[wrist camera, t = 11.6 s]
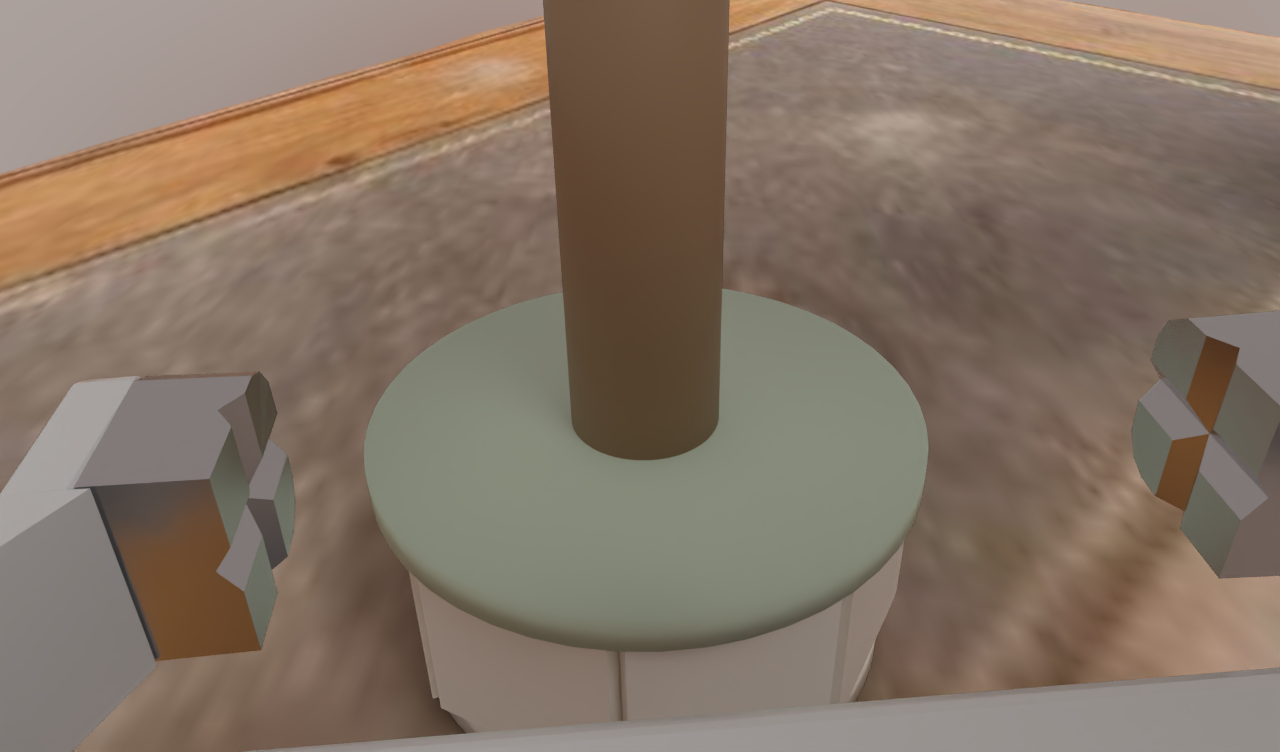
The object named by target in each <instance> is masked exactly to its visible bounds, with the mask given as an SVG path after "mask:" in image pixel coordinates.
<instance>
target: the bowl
mask: <svg viewBox="0 0 1280 752" xmlns="http://www.w3.org/2000/svg"><path fill="white" fill-rule="evenodd" d="M904 540H905V539H904ZM903 546H904V541H903V543H902V544H901V546H900V548H899V549H898V550H897V552H896V553H895V554H894V555H893V556H892V557H891V558H890V560H889V561H888V562H887V563H886V564H885V565H884V566H883V568H882V569H881V570H880V571H879V572H878V573H876V574H875V575H874V576H873V577H872V578H870V579H869V580H868V581H867V582H866V583H864V584H863V585H862V586H861V587H859V588H858V589H857V590H856V591H855V592H853V593H852V594H850V595H848V596H847V597H845V598H843V599H842V600H840V601H838V602H837V603H835V604H834V605H832V606H830V607H829V608H827V609H825V610H824V611H822V612H819V613H817V614H815V615H813V616H810V617H808V618H806V619H804V620H801V621H799V622H797V623H795V624H792V625H790V626H788V627H785V628H782V629H779V630H775V631H772V632H769V633H766V634H763V635H760V636H756V637H753V638H750V639H746V640H741V641H736V642H731V643H726V644H721V645H716V646H711V647H706V648H696V649H686V650H675V651H664V652H615V651H606V650H596V649H587V648H578V647H570V646H566V645H561V644H556V643H552V642H547V641H543V640H538V639H533V638H529V637H526V636H523V635H520V634H517V633H514V632H511V631H508V630H505V629H502V628H499V627H496V626H493V625H491V624H489V623H487V622H485V621H482V620H480V619H478V618H476V617H474V616H472V615H470V614H468V613H466V612H464V611H462V610H460V609H458V608H456V607H455V606H453V605H451V604H450V603H448V602H447V601H445V600H444V599H442V598H441V597H439V596H438V595H436V594H435V593H433V592H432V591H430V590H429V589H428V588H427V587H426V586H424V585H423V584H422V583H421V582H420V581H419V580H418V579H417V578H416V577H414V576H413V575H412V574H411V573H410V572H409V576H410V581H411V587H412V592H413V597H414V602H415V608H416V613H417V618H418V623H419V629H420V634H421V639H422V645H423V650H424V655H425V660H426V666H427V671H428V676H429V681H430V687H431V692H432V697H433V699H434V698H438V697H439V700H440V705H441V708H442V709H444V710H446V711H448V712H449V713H450V714H451V715H452V717H453V718H454V720H455V721H456V722H457V724H458V725H459V726H460V727H461V728H462V729H463V730H464V731H465V732H466V733H479V732H492V731H504V730H517V729H529V728H542V727H554V726H566V725H579V724H591V723H604V722H616V721H628V720H641V719H653V718H666V717H678V716H691V715H703V714H715V713H728V712H740V711H753V710H765V709H778V708H790V707H802V706H815V705H827V704H839V703H852V702H855V701H856V699H857V697H858V695H859V694H860V692H861V690H862V688H863V686H864V684H865V681H866V678H867V675H868V672H869V670H870V667H871V664H872V658H873V652H874V645H875V639H876V637H877V635H878V633H879V630H880V628H881V626H882V624H883V622H884V619H885V617H886V615H887V613H888V611H889V608H890V606H891V604H892V602H893V599H894V597H895V595H896V591H897V585H898V578H899V572H900V565H901V559H902V552H903Z"/></svg>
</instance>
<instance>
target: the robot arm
mask: <svg viewBox="0 0 1280 752" xmlns="http://www.w3.org/2000/svg"><path fill="white" fill-rule="evenodd" d="M1151 362H1152V364H1153V365H1154V367H1155V369H1156V371H1157V373H1158V375H1159V377H1160V380H1159V381H1158V382H1157V383H1156V384H1155V385H1154V386H1153V387H1152V388H1151V389H1150V390H1149V391H1148V392H1147V393H1146V394H1145V395H1143V396H1142V397H1141V398H1140V399H1139V401H1138V405H1137V410H1136V414H1135V418H1134V422H1133V426H1132V441H1133V452H1134V459H1135V462H1136V464H1137V467H1138V469H1139V472H1140V474H1141V477H1142V479H1143V480H1144V481H1145V483H1146V484H1147V485H1148V487H1149V488H1150V490H1151V491H1152V492H1153V494H1154V495H1155V496H1156V497H1158V498H1160V499H1162V500H1164V501H1166V502H1168V503H1170V504H1172V505H1173V506H1175V507H1177V508H1179V509H1181V510H1183V511H1184V513H1183V517H1182V521H1181V526H1180V529H1181V530H1182V531H1183V533H1184V534H1185V535H1186V537H1187V538H1188V539H1189V540H1190V542H1191V543H1192V544H1193V546H1194V547H1195V548H1196V549H1197V551H1198V552H1199V553H1200V554H1201V556H1202V557H1203V558H1204V560H1205V561H1206V562H1207V563H1208V565H1209V566H1210V567H1211V569H1212V570H1213V571H1214V572H1215V574H1216V575H1217V576H1218V578H1240V577H1261V576H1280V311H1272V312H1260V313H1248V314H1236V315H1224V316H1212V317H1200V318H1189V319H1178V320H1169V321H1168V323H1167V324H1166V326H1165V327H1164V328H1163V330H1162V331H1161V333H1160V334H1159V335H1158V337H1157V340H1156V344H1155V347H1154V350H1153V353H1152V357H1151ZM276 416H277V411H276V407H275V403H274V400H273V396H272V393H271V389H270V386H269V382H268V381H267V380H266V378H265V377H264V376H263V375H262V374H261V373H260V372H239V373H214V374H189V375H164V376H145V377H143V378H142V377H139V376H129V377H115V378H102V379H89V380H84V381H80V382H77V383H74V384H73V385H72V386H71V388H70V389H69V391H68V392H67V394H66V395H65V397H64V398H63V400H62V401H61V403H60V404H59V406H58V407H57V409H56V410H55V412H54V413H53V415H52V416H51V418H50V419H49V421H48V422H47V424H46V425H45V427H44V428H43V430H42V431H41V433H40V434H39V436H38V437H37V439H36V440H35V442H34V443H33V445H32V446H31V448H30V449H29V451H28V452H27V454H26V455H25V457H24V459H23V460H22V462H21V463H20V465H19V466H18V468H17V469H16V471H15V472H14V474H13V475H12V477H11V478H10V480H9V481H8V483H7V484H6V486H5V487H4V489H3V490H2V492H1V493H0V752H72V751H73V750H74V749H75V748H76V747H77V746H78V745H79V744H80V743H81V742H82V741H83V740H84V739H85V738H86V737H87V736H88V735H89V734H90V733H91V732H92V731H93V730H94V729H95V728H96V727H97V726H98V725H99V724H100V723H101V722H102V721H103V720H104V719H105V718H106V717H107V716H108V715H109V714H110V713H111V712H112V711H113V710H114V709H115V708H116V707H117V706H118V705H119V704H120V703H121V702H122V701H123V700H124V699H125V698H126V697H127V696H128V695H129V694H130V693H131V692H132V691H133V690H134V689H135V688H136V687H137V686H138V685H139V684H140V683H141V682H142V681H143V680H144V679H145V678H146V677H147V676H148V675H149V674H150V673H151V672H152V671H153V670H154V669H155V668H156V667H157V663H156V661H160V660H170V659H180V658H189V657H199V656H209V655H219V654H229V653H239V652H249V651H258V650H261V649H262V645H263V642H264V638H265V635H266V631H267V628H268V624H269V621H270V617H271V614H272V611H273V607H274V604H275V600H276V597H277V593H278V592H277V589H276V585H275V581H274V577H273V574H272V569H273V568H274V567H276V566H277V565H278V564H279V563H280V562H282V561H283V560H284V559H285V558H286V557H288V553H289V549H290V545H291V541H292V537H293V533H294V518H295V494H294V485H293V476H292V472H291V468H290V463H289V459H288V455H287V453H285V452H284V451H283V450H282V449H281V448H279V447H278V446H277V445H276V444H275V443H274V442H272V441H271V440H270V439H269V437H270V434H271V431H272V428H273V425H274V422H275V419H276ZM243 752H1280V668H1270V669H1257V670H1245V671H1232V672H1220V673H1207V674H1195V675H1182V676H1170V677H1157V678H1145V679H1133V680H1120V681H1108V682H1095V683H1083V684H1070V685H1058V686H1045V687H1033V688H1021V689H1009V690H997V691H985V692H973V693H960V694H948V695H936V696H924V697H912V698H900V699H888V700H876V701H864V702H852V703H839V704H827V705H815V706H802V707H790V708H778V709H765V710H753V711H740V712H728V713H715V714H703V715H691V716H678V717H666V718H653V719H641V720H628V721H616V722H604V723H591V724H579V725H566V726H554V727H542V728H529V729H517V730H504V731H492V732H479V733H467V734H455V735H442V736H430V737H417V738H405V739H392V740H380V741H368V742H355V743H343V744H330V745H318V746H305V747H293V748H281V749H268V750H256V751H243Z"/></svg>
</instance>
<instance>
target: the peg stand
mask: <svg viewBox="0 0 1280 752" xmlns="http://www.w3.org/2000/svg"><path fill="white" fill-rule="evenodd" d="M729 2H730V0H543V7H544V22H545V37H546V52H547V66H548V81H549V96H550V110H551V125H552V140H553V154H554V169H555V184H556V198H557V213H558V228H559V243H560V257H561V272H562V287H563V292H560V293H555V294H550V295H546V296H542V297H539V298H535V299H531V300H528V301H524V302H520V303H517V304H514V305H512V306H509V307H506V308H503V309H500V310H497V311H495V312H492V313H490V314H488V315H485V316H483V317H481V318H479V319H476V320H474V321H472V322H470V323H467V324H466V325H464V326H462V327H460V328H458V329H457V330H455V331H453V332H451V333H449V334H448V335H446V336H444V337H443V338H441V339H440V340H438V341H437V342H435V343H434V344H433V345H431V346H430V347H428V348H427V349H425V350H424V351H423V352H421V353H420V354H419V355H418V356H417V357H416V358H415V359H413V360H412V361H411V362H410V363H409V364H408V365H407V366H405V367H404V369H403V370H402V371H401V372H400V373H399V374H398V375H397V376H396V378H395V379H394V380H393V381H392V382H391V383H390V384H389V386H388V387H387V389H386V390H385V392H384V394H383V395H382V397H381V398H380V400H379V401H378V403H377V405H376V407H375V409H374V412H373V414H372V417H371V419H370V422H369V424H368V427H367V433H366V438H365V443H364V469H365V475H366V480H367V484H368V489H369V494H370V499H371V503H372V507H373V511H374V514H375V518H376V522H377V525H378V527H379V529H380V531H381V533H382V534H383V536H384V538H385V540H386V542H387V544H388V546H389V548H390V549H391V550H392V552H393V553H394V554H395V555H396V557H397V558H398V559H399V561H400V562H401V563H402V564H403V566H404V567H405V568H406V569H407V570H408V571H409V572H410V573H411V574H412V575H413V576H414V577H416V578H417V579H418V580H419V581H420V582H421V583H422V584H423V585H424V586H426V587H427V588H428V589H429V590H430V591H432V592H433V593H435V594H436V595H438V596H439V597H441V598H442V599H444V600H445V601H447V602H448V603H450V604H451V605H453V606H455V607H456V608H458V609H460V610H462V611H464V612H466V613H468V614H470V615H472V616H474V617H476V618H478V619H480V620H482V621H485V622H487V623H489V624H491V625H493V626H496V627H499V628H502V629H505V630H508V631H511V632H514V633H517V634H520V635H523V636H526V637H529V638H533V639H538V640H543V641H547V642H552V643H556V644H561V645H566V646H570V647H578V648H587V649H596V650H606V651H615V652H664V651H675V650H686V649H696V648H706V647H711V646H716V645H721V644H726V643H731V642H736V641H741V640H746V639H750V638H753V637H756V636H760V635H763V634H766V633H769V632H772V631H775V630H779V629H782V628H785V627H788V626H790V625H792V624H795V623H797V622H799V621H801V620H804V619H806V618H808V617H810V616H813V615H815V614H817V613H819V612H822V611H824V610H825V609H827V608H829V607H830V606H832V605H834V604H835V603H837V602H838V601H840V600H842V599H843V598H845V597H847V596H848V595H850V594H852V593H853V592H855V591H856V590H857V589H858V588H859V587H861V586H862V585H863V584H864V583H866V582H867V581H868V580H869V579H870V578H872V577H873V576H874V575H875V574H876V573H878V572H879V571H880V570H881V569H882V568H883V566H884V565H885V564H886V563H887V562H888V561H889V560H890V558H891V557H892V556H893V555H894V554H895V553H896V552H897V550H898V549H899V548H900V546H901V544H902V543H903V541H904V539H905V538H906V536H907V534H908V533H909V531H910V529H911V528H912V526H913V524H914V521H915V518H916V515H917V512H918V509H919V506H920V503H921V499H922V493H923V487H924V481H925V475H926V468H927V459H928V451H929V445H928V436H927V427H926V423H925V420H924V417H923V414H922V411H921V408H920V405H919V403H918V401H917V400H916V398H915V396H914V394H913V392H912V391H911V389H910V387H909V385H908V384H907V383H906V382H905V380H904V379H903V378H902V377H901V375H900V374H899V373H898V372H897V370H896V369H895V368H894V367H893V366H892V365H891V364H890V363H889V362H888V361H887V360H886V359H885V358H884V357H882V356H881V355H880V354H879V353H878V352H877V351H876V350H875V349H873V348H872V347H871V346H869V345H868V344H866V343H865V342H864V341H862V340H861V339H859V338H858V337H857V336H855V335H854V334H852V333H850V332H848V331H847V330H845V329H843V328H841V327H840V326H838V325H836V324H834V323H833V322H831V321H828V320H826V319H824V318H822V317H819V316H817V315H815V314H813V313H810V312H808V311H806V310H803V309H800V308H797V307H794V306H792V305H789V304H786V303H783V302H780V301H776V300H773V299H769V298H765V297H761V296H758V295H754V294H749V293H744V292H739V291H734V290H728V289H723V288H722V275H723V236H724V197H725V158H726V119H727V80H728V41H729Z"/></svg>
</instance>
